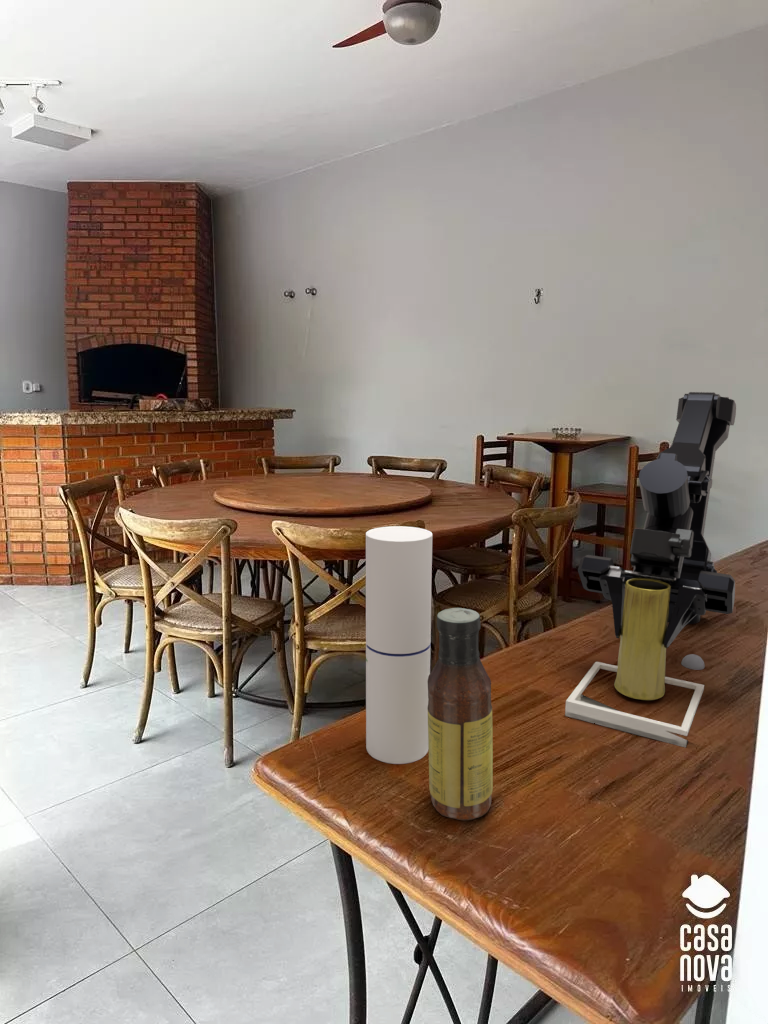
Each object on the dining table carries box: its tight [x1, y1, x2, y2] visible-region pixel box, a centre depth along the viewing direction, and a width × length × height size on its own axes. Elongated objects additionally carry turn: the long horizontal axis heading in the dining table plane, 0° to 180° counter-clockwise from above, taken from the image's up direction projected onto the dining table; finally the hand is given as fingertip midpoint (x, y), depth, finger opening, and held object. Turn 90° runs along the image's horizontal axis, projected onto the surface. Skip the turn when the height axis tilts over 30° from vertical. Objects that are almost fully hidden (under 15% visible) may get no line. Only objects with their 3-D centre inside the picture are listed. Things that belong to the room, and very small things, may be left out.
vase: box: [614, 578, 671, 701], centre depth 87 cm, size 6×6×14 cm
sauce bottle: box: [427, 607, 494, 821], centre depth 66 cm, size 7×6×20 cm
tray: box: [564, 661, 705, 748], centre depth 87 cm, size 14×14×2 cm
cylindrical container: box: [365, 525, 434, 765], centre depth 76 cm, size 7×7×25 cm
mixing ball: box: [680, 653, 705, 671], centre depth 97 cm, size 3×3×3 cm
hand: (640, 641), depth 86 cm, fingers closed on vase, 5 cm apart
